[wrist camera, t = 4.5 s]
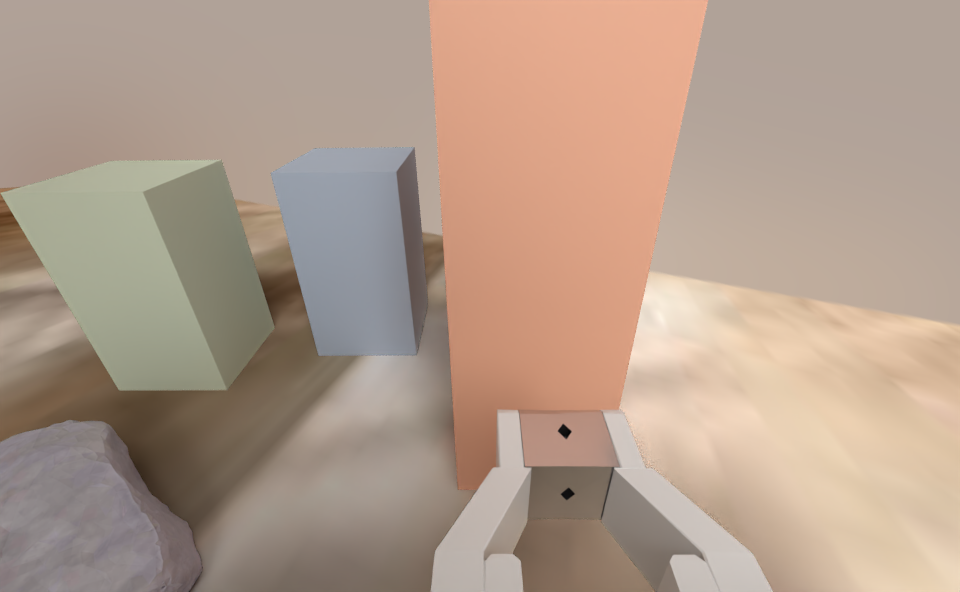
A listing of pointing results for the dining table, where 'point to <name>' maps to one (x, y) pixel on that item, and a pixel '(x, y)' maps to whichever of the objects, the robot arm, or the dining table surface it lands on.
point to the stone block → (86, 517)
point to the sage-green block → (151, 269)
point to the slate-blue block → (357, 247)
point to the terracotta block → (551, 195)
